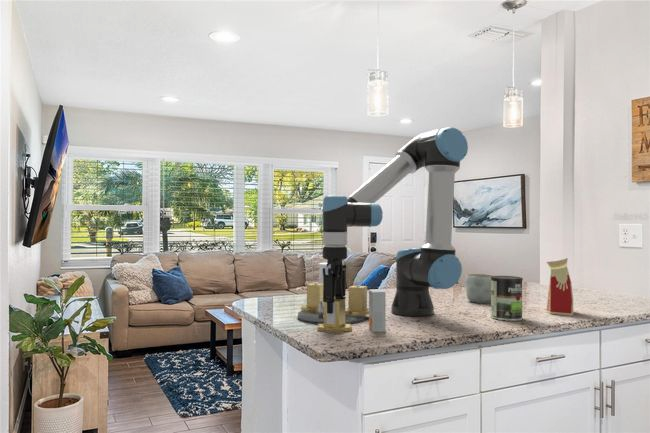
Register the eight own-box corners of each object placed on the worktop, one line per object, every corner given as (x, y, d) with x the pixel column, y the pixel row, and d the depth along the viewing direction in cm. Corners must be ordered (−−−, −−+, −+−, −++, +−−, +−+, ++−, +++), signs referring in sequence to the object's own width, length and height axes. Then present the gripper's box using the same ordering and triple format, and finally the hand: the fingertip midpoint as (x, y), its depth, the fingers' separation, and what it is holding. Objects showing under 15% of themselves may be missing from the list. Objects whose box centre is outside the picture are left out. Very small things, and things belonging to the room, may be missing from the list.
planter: (501, 304, 206) (501, 277, 206) (470, 304, 206) (470, 277, 206) (491, 299, 219) (491, 273, 219) (462, 299, 219) (462, 273, 219)
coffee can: (529, 319, 175) (529, 277, 175) (507, 322, 171) (507, 279, 171) (505, 314, 184) (505, 274, 184) (484, 317, 180) (484, 276, 180)
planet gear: (358, 327, 161) (358, 298, 161) (345, 334, 151) (345, 304, 151) (324, 324, 166) (324, 296, 166) (310, 331, 155) (310, 301, 155)
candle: (317, 299, 216) (317, 264, 216) (319, 297, 223) (320, 262, 223) (333, 300, 215) (333, 264, 215) (335, 297, 222) (335, 262, 222)
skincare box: (368, 327, 161) (368, 289, 161) (382, 327, 161) (382, 289, 161) (371, 332, 155) (372, 292, 155) (386, 331, 155) (386, 291, 155)
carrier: (379, 315, 182) (379, 283, 182) (357, 327, 161) (357, 291, 161) (309, 309, 193) (309, 279, 193) (280, 320, 172) (280, 287, 172)
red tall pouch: (573, 311, 191) (573, 257, 191) (573, 316, 182) (573, 259, 182) (546, 309, 194) (546, 256, 194) (545, 313, 186) (545, 258, 186)
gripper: (334, 244, 168) (334, 316, 168) (311, 247, 152) (311, 326, 151) (356, 245, 165) (356, 318, 165) (335, 247, 149) (334, 329, 148)
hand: (334, 322), depth 158 cm, fingers closed on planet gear, 5 cm apart
